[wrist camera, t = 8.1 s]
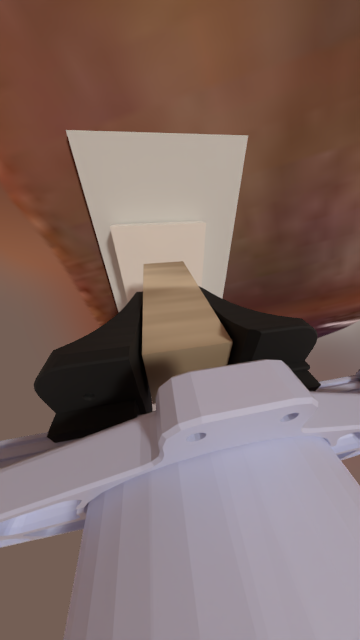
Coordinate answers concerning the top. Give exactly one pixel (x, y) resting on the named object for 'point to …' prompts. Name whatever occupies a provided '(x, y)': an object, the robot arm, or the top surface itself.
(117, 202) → the mat
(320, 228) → the top surface
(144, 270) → the stick
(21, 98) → the top surface
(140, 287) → the tile
